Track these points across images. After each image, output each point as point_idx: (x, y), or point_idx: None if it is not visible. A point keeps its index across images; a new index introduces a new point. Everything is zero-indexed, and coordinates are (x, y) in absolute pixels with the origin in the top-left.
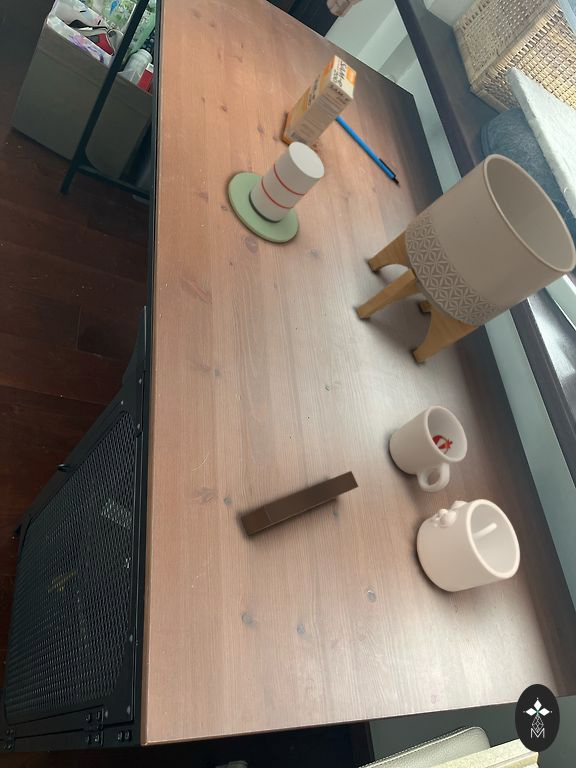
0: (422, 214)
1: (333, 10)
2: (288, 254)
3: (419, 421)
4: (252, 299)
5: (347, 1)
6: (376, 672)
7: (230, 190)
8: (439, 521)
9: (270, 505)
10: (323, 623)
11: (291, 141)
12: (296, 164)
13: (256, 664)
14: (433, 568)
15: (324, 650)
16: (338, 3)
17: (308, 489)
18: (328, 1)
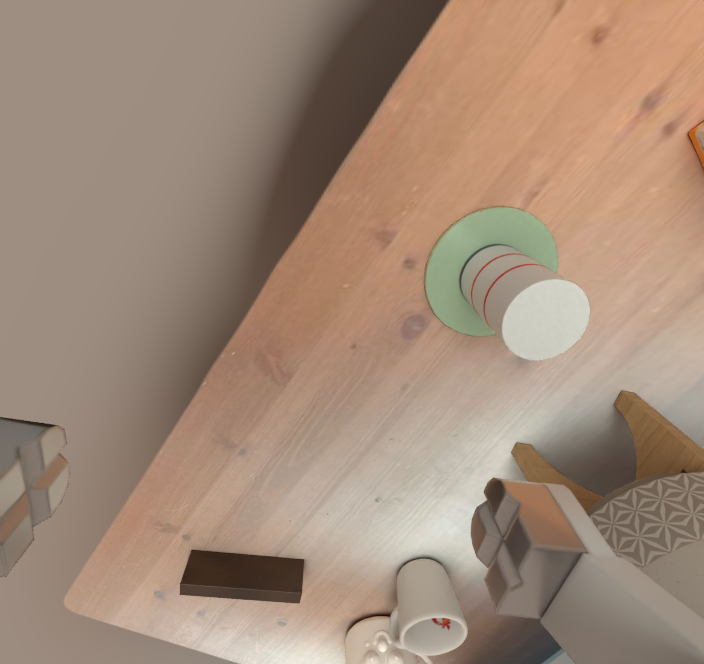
0: (677, 515)
1: (477, 531)
2: (470, 352)
3: (415, 610)
4: (351, 394)
5: (534, 612)
6: (248, 649)
7: (440, 240)
8: (370, 648)
9: (187, 585)
10: (223, 618)
11: (701, 147)
12: (502, 329)
13: (151, 612)
14: (345, 649)
15: (212, 627)
16: (489, 569)
17: (237, 589)
18: (494, 489)
